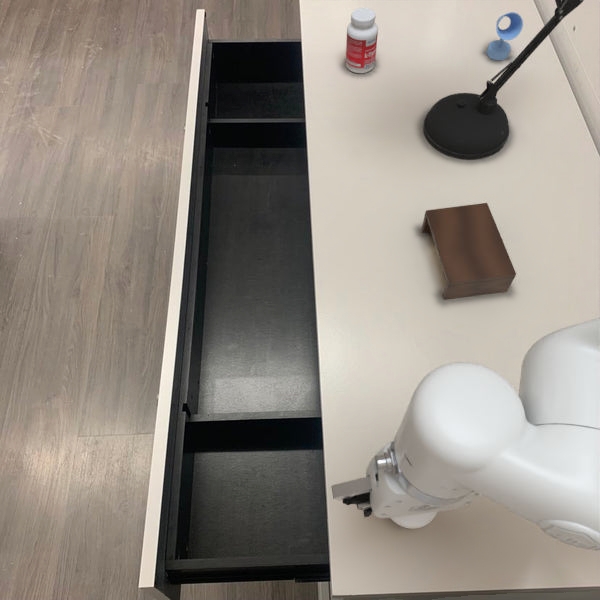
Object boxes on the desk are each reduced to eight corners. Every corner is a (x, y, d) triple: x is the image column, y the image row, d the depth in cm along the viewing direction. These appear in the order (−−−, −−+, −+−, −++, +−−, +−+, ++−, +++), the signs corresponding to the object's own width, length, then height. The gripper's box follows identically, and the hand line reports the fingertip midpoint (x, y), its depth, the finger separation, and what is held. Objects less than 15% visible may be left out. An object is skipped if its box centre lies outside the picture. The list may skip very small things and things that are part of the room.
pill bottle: (366, 77, 110) (369, 26, 100) (340, 69, 112) (341, 18, 102) (380, 61, 112) (384, 10, 103) (354, 53, 114) (356, 1, 105)
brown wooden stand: (479, 221, 89) (487, 202, 85) (507, 291, 82) (516, 274, 77) (421, 229, 89) (425, 210, 84) (443, 299, 81) (449, 282, 77)
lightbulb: (399, 473, 68) (410, 449, 59) (438, 510, 66) (456, 491, 56) (365, 510, 66) (372, 491, 57) (405, 549, 64) (418, 537, 54)
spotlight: (511, 65, 110) (508, 45, 113) (526, 18, 101) (523, -2, 105) (486, 64, 110) (484, 44, 114) (500, 18, 102) (497, -3, 105)
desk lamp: (375, 158, 98) (406, -142, 59) (420, 75, 109) (470, -221, 71) (508, 196, 91) (639, -111, 53) (541, 104, 103) (667, -203, 65)
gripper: (342, 517, 42) (336, 543, 57) (553, 488, 43) (493, 521, 58) (328, 426, 46) (325, 472, 61) (521, 401, 47) (472, 452, 61)
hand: (407, 496), depth 59 cm, fingers open, 9 cm apart
